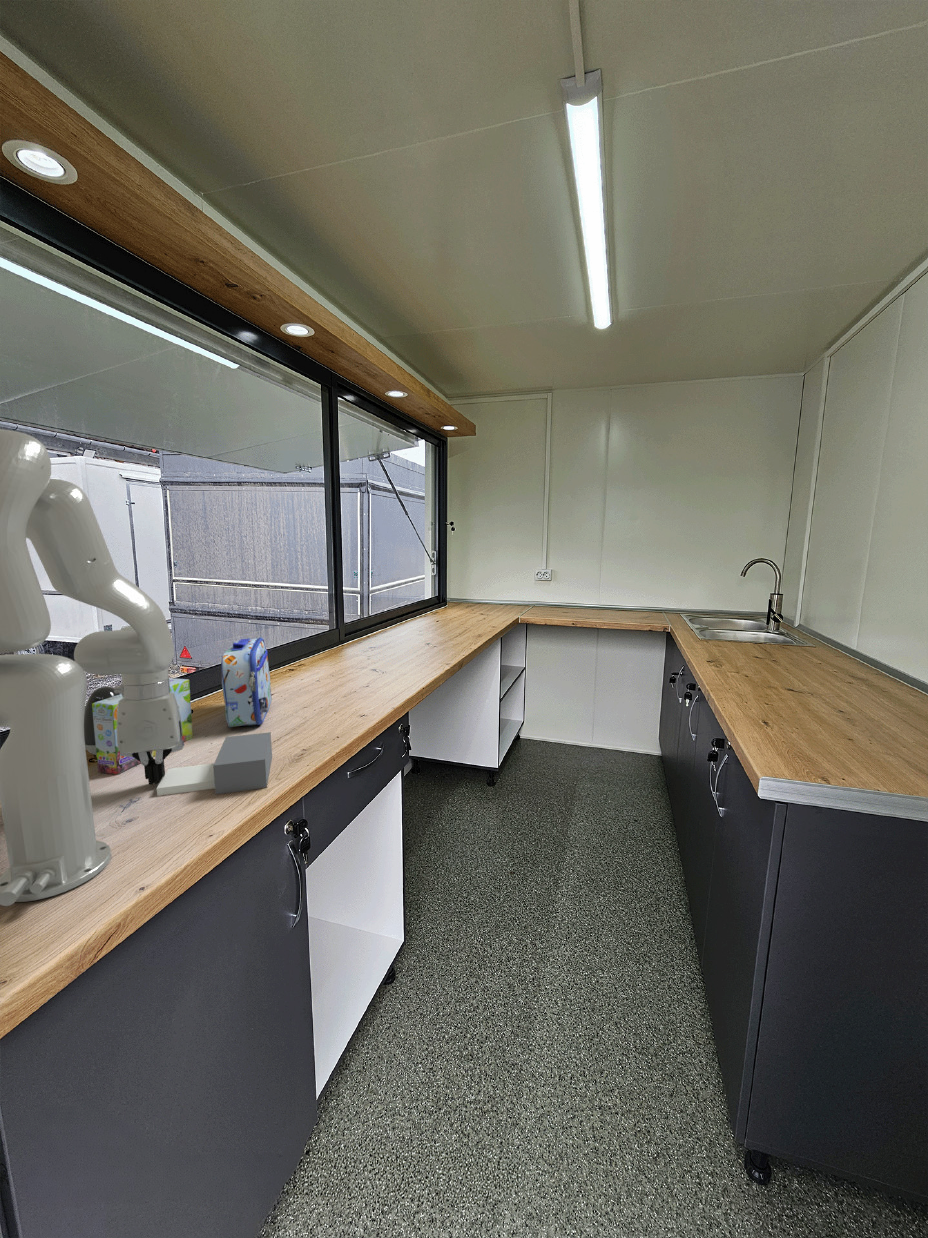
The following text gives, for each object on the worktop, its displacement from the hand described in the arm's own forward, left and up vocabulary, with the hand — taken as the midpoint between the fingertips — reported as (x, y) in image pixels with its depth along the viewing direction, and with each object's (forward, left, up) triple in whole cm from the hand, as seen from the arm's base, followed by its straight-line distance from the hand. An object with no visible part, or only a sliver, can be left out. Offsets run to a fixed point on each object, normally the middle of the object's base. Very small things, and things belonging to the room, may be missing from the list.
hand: (155, 781), depth 97 cm
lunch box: (+38, -13, -1) cm, 40 cm away
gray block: (0, -16, -1) cm, 16 cm away
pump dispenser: (+22, +15, -1) cm, 27 cm away
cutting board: (0, -9, -2) cm, 9 cm away
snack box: (+18, +6, -1) cm, 19 cm away
